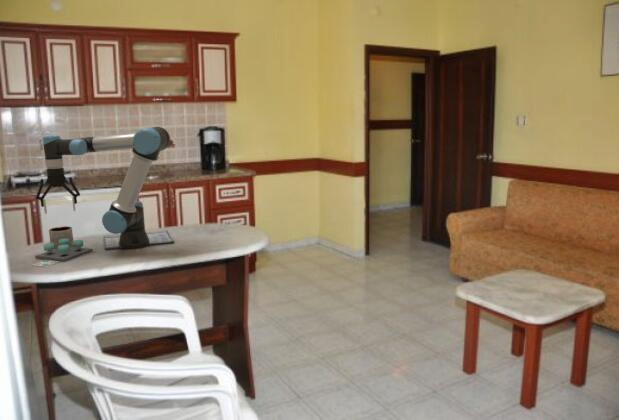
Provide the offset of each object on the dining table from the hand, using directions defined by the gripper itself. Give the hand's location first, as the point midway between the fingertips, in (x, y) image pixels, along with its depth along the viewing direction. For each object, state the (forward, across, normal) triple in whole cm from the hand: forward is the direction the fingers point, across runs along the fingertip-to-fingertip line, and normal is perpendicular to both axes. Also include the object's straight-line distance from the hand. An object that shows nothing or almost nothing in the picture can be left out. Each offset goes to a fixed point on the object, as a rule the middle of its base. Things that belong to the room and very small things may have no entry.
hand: (60, 211), depth 253 cm
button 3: (+18, 0, 0) cm, 18 cm away
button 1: (+18, -6, +7) cm, 20 cm away
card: (+20, +8, +19) cm, 29 cm away
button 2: (+18, 0, +13) cm, 22 cm away
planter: (+20, +2, -11) cm, 23 cm away
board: (+20, 0, +6) cm, 21 cm away
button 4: (+18, +6, +7) cm, 20 cm away
